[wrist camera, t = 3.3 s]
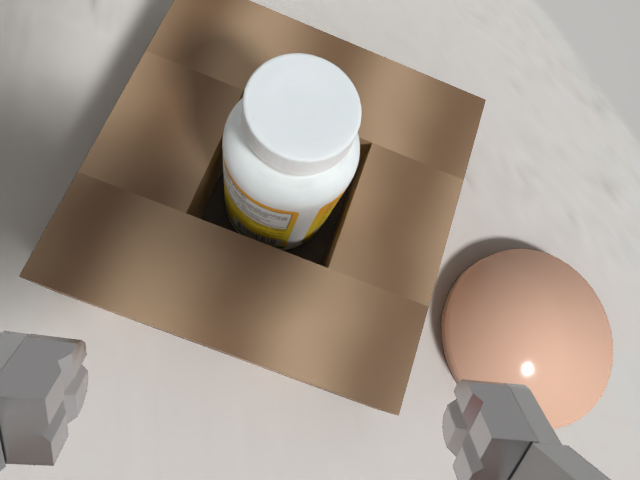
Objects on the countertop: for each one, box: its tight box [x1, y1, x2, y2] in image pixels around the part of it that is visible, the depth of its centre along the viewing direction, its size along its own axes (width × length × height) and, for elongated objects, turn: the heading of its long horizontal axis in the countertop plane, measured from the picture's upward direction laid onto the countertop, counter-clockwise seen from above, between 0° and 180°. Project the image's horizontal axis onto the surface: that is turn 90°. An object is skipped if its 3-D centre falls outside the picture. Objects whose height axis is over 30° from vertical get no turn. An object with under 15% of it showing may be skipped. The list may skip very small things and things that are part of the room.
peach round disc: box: [441, 249, 613, 429], centre depth 25 cm, size 9×9×1 cm
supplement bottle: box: [222, 53, 362, 250], centre depth 20 cm, size 5×5×10 cm
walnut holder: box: [20, 0, 485, 415], centre depth 23 cm, size 16×16×4 cm
